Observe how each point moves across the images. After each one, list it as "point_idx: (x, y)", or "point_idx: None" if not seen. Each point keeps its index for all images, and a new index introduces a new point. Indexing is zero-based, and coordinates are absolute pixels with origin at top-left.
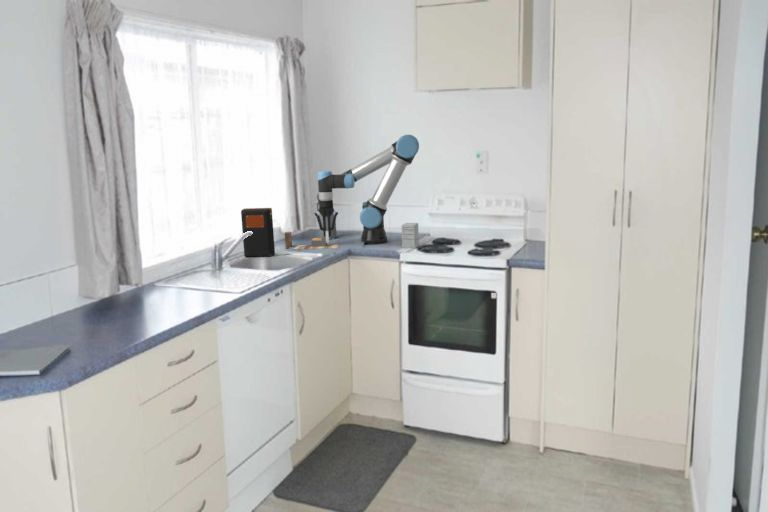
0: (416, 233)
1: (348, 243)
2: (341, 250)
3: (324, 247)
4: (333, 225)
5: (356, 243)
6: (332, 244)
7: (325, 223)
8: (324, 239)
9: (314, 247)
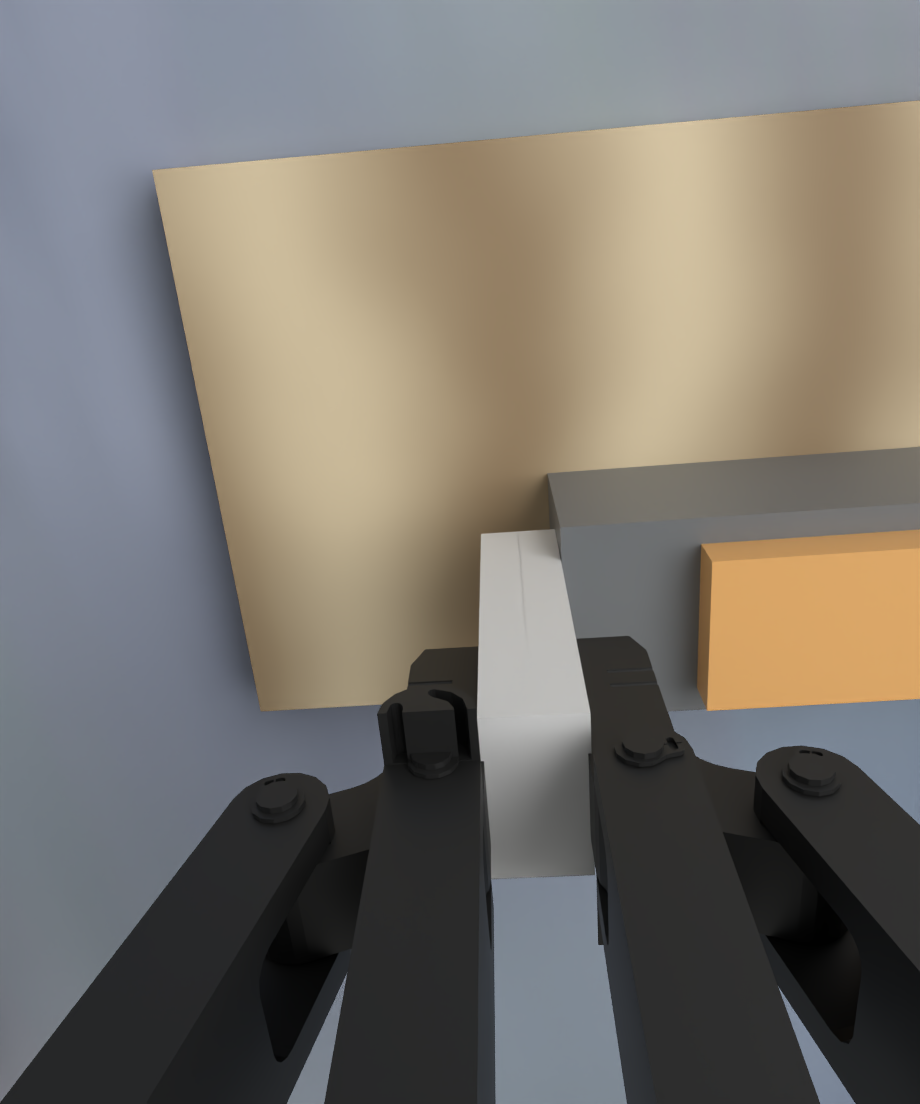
0: None
1: None
2: (62, 148)
3: (555, 294)
4: (174, 926)
5: (45, 927)
6: None
7: (638, 1052)
8: None
9: (842, 314)
